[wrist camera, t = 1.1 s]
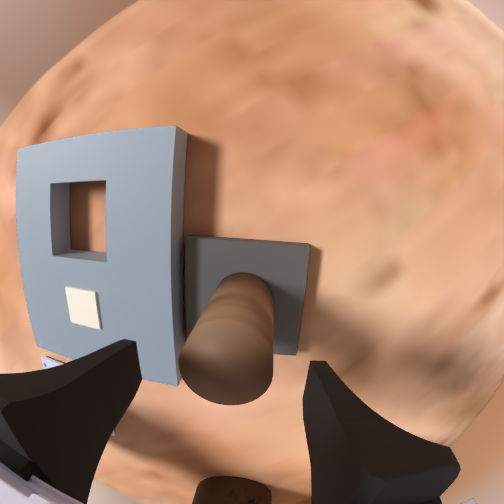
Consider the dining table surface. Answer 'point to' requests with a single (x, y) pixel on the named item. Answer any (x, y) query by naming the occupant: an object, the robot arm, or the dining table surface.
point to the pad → (255, 262)
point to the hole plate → (107, 246)
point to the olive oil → (231, 491)
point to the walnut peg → (232, 343)
